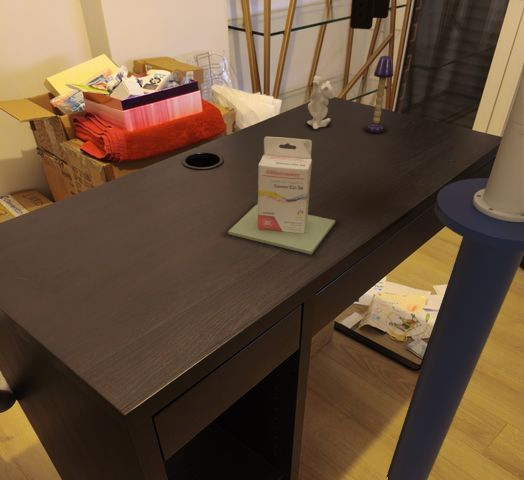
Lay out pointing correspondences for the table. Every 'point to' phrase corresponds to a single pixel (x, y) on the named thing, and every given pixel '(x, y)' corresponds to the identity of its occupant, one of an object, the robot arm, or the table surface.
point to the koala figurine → (320, 102)
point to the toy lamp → (380, 90)
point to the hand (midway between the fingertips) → (369, 22)
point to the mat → (289, 240)
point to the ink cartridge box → (284, 185)
